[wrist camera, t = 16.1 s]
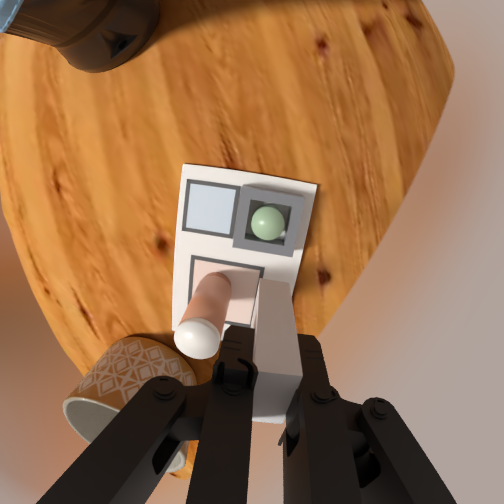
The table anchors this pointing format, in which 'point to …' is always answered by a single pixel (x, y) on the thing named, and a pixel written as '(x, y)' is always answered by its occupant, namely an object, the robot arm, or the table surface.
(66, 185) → the table surface
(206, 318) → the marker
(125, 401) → the planter
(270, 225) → the button
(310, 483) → the robot arm
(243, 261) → the sheet
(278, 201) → the button housing
